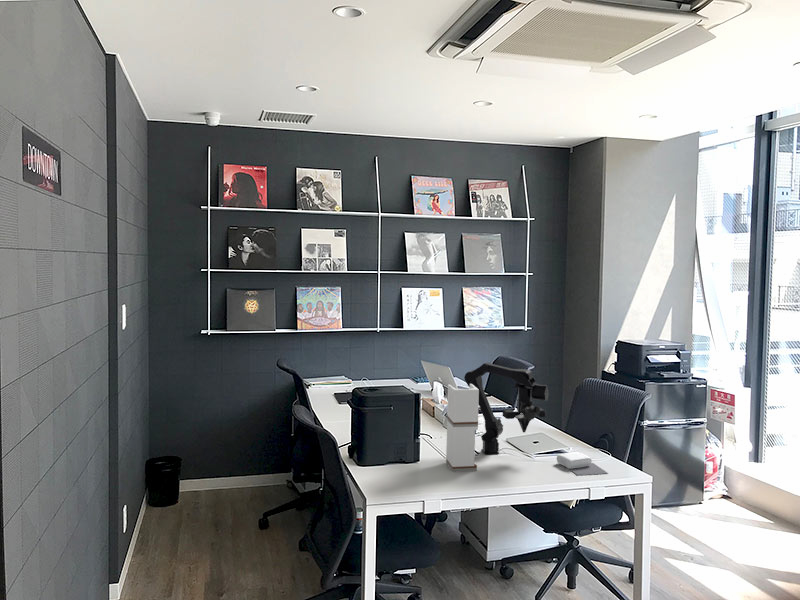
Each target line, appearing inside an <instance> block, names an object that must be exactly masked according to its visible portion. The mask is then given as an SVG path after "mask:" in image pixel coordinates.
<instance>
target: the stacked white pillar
mask: <svg viewBox="0 0 800 600" xmlns="http://www.w3.org/2000/svg"><path fill="white" fill-rule="evenodd" d="M446 403H447V406H446V409H447V412H446V413H447V414H446V451H445V452H446V454H445V455H446V456H445V457H446V458H445V460H446V461H445V463H446V465H447V466H448V467H449V470H450V471H451V472H453V473H455V472H473V471H474V472H475V471H478V469H477V468H478V466H477V464H476V463H475V454H476V453H475V451H476V450H475V448H476V445H475V444H476V431H477V430H478V429H479V389H478V388H476V387H475V386H474V385H473V384H470V387H469V388H468V389H467V388H457V387H454V386H453V385H452V384H450V383H449V384H447V402H446Z"/></svg>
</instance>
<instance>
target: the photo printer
mask: <svg viewBox="0 0 800 600" xmlns="http://www.w3.org/2000/svg"><path fill="white" fill-rule="evenodd" d="M556 462H557V463H558V464H559V465H562V466H563V467H565V468H566V469H568V468H571V469H573V468H579V467H585V466H589V465H590V464H591V463H593V462H592V458H591V457H590V456H588V455H587V454H584V453H581V452H578V451H577V452H576V451H570V452H565V453H559V454H558V455H557V456H556Z"/></svg>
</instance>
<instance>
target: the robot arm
mask: <svg viewBox="0 0 800 600" xmlns="http://www.w3.org/2000/svg"><path fill="white" fill-rule="evenodd" d="M486 373H489V374H493V375H497V376H501V377H504V378H509V379H511V380H513V381H514V382H516V384H515V385H513V388H516V389H517V390H518V392H517V393H518V394H517V396H518V397H517V399H516V402H517V408H516V411H514V410H513V409H504V410H503V411H502V417H503V418H504V419H506V420H514V419H516V420H517V421H518V423H519V426H520V428H521V429H520V430H522V433H526V431H527V428H528V427H529V424H530V423H531V421H532V420H534V419H535V418H536V416H538V417H539V418H546V417H547V411H546V410H544V409H543V408H541V407H540V405H537V406H536V405H535V406H534V405H533V401H532V399H533V400H537V401H538V400H539V401H545V402H547V401H548V400H549V396H550V392H549V389H548V385H547V384H538V381H537V380H536V378H535V377H534V375H533V372H532V371H531V369H528V368H527V369H525V368H511V367H506V366H504V365H497V364H495V363H490V362H485V363H482V365H480V366H478V367H477V368H476V369H472V370H470V371H467V372H466V373H465V374H464V381H465V383H466V385H467V387H468V388H470V384H473V385H474V386H475V387H476V388H478V389H479V405H478V408H479V409H480V412H481V414H482V416H483V418H484V419H483V420H484V429H485V432H484V433H483V434H482V435H481V436H480V438H481V441H482V449H481V452H483V454H485V455H498V454H500V453H499V450H500V449H499V445H500V443H499V439H498V438H499V437H500V435H501V434H503V431H504V428H503V427H504V425H503V424H502V420H501V417H500V418H497V417H496V416H495V415H494V412H493V409H492V408H491V405H490V403H489V400H488V398H487V395H486V393H485V389H484V388H483V376H485V375H486Z"/></svg>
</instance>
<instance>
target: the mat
mask: <svg viewBox="0 0 800 600" xmlns="http://www.w3.org/2000/svg"><path fill="white" fill-rule="evenodd" d="M567 469H568V470H569V471H570V472H572V473H573V474H575V475H576V476H593V475H607V474H608V475H609V472H608V471H606V470H604V469H603V468H601V467H599V466H598V465H597V464H595V463H594V462H592V463H591V464H590V465H589V466H585V467H579V468H573V469H571V468H567Z"/></svg>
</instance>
